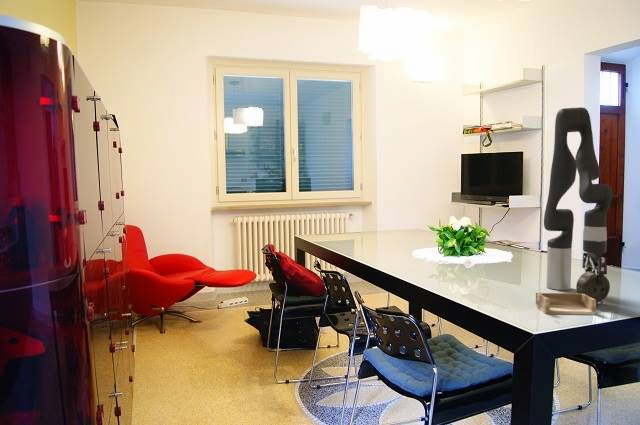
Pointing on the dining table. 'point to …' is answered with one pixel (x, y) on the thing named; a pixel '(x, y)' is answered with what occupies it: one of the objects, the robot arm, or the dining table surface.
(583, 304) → the clock stand
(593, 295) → the alarm clock
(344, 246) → the dining table surface
